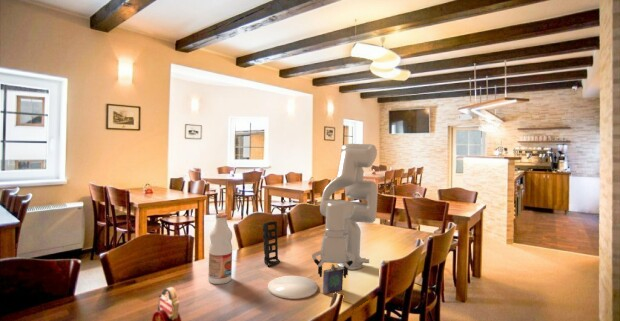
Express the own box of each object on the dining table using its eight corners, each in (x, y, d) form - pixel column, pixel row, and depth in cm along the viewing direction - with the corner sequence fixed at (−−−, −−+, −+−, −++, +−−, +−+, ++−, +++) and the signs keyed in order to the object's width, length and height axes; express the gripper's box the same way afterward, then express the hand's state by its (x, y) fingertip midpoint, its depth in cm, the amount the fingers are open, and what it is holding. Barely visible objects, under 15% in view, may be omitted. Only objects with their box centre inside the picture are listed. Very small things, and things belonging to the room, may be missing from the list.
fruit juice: (209, 276, 142) (210, 212, 141) (231, 275, 144) (233, 212, 143) (207, 285, 133) (209, 216, 132) (231, 283, 135) (233, 216, 134)
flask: (324, 295, 128) (325, 267, 127) (320, 292, 130) (321, 265, 130) (343, 290, 132) (344, 264, 132) (339, 287, 135) (340, 262, 135)
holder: (275, 267, 154) (273, 225, 154) (260, 267, 156) (258, 225, 156) (282, 260, 165) (280, 220, 165) (268, 260, 167) (265, 221, 167)
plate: (316, 279, 143) (316, 276, 143) (318, 300, 123) (318, 296, 123) (270, 277, 143) (270, 275, 143) (265, 298, 123) (265, 295, 123)
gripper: (354, 232, 134) (352, 273, 134) (312, 230, 134) (310, 272, 134) (357, 236, 127) (355, 280, 127) (313, 234, 126) (311, 279, 126)
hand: (332, 276), depth 130 cm, fingers open, 9 cm apart
